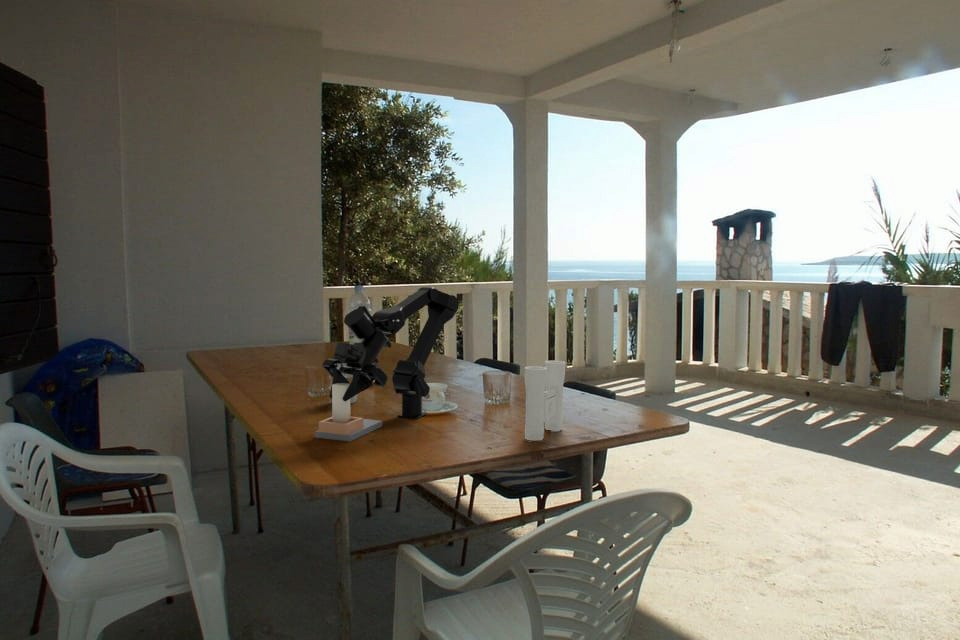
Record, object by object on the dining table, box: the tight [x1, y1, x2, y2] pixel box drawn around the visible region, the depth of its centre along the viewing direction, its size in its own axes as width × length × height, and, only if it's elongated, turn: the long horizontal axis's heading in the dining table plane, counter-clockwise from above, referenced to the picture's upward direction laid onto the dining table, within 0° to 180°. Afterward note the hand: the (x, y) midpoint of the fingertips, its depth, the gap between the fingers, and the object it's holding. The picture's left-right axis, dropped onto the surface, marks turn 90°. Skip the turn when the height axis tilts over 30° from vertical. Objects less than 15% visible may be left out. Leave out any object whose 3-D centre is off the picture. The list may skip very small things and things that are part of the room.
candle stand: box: [314, 415, 383, 442], centre depth 170 cm, size 16×10×4 cm, turn 160°
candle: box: [331, 383, 351, 424], centre depth 166 cm, size 4×4×10 cm
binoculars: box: [524, 359, 566, 441], centre depth 169 cm, size 17×5×18 cm, turn 150°
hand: (337, 399), depth 165 cm, fingers closed on candle, 4 cm apart
